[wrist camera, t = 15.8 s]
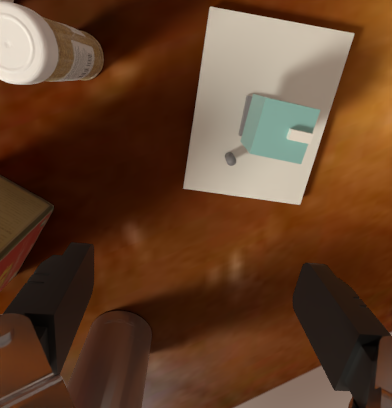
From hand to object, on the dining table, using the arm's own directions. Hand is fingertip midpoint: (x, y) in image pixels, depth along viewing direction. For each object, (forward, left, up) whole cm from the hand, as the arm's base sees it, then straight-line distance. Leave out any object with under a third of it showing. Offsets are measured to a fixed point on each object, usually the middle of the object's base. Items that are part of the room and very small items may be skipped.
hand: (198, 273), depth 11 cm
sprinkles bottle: (+7, +12, -25) cm, 28 cm away
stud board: (+4, -7, -24) cm, 26 cm away
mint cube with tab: (+4, -7, -19) cm, 21 cm away
